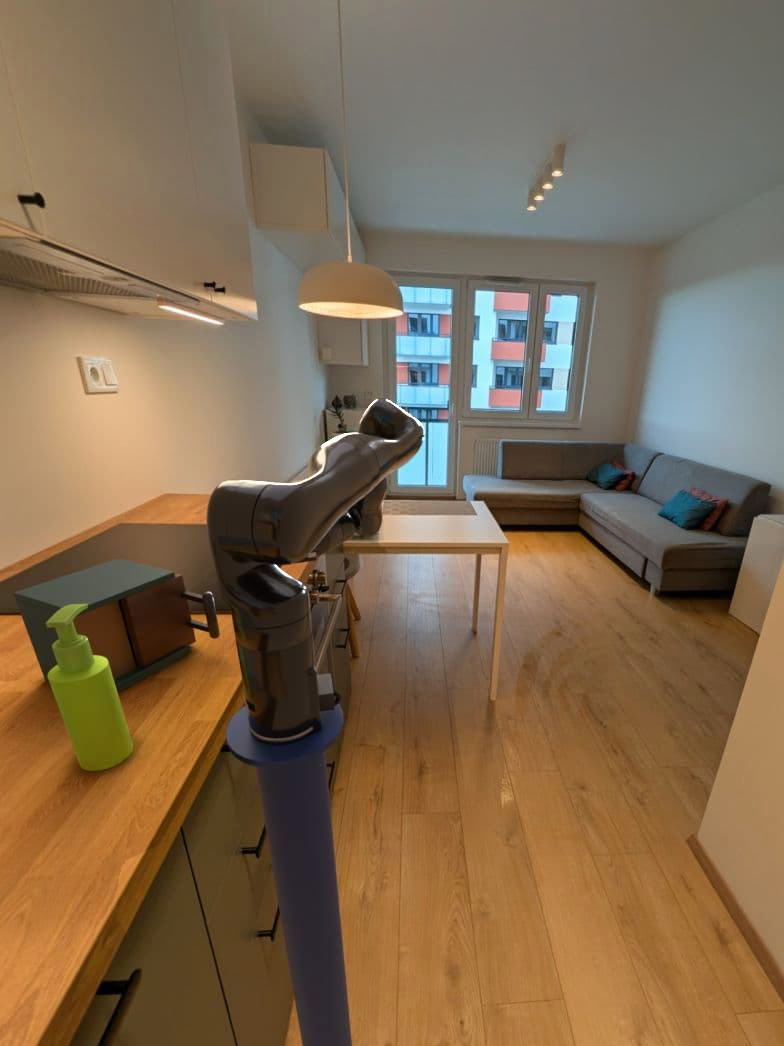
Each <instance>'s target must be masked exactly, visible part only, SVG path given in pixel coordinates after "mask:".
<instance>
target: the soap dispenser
mask: <svg viewBox="0 0 784 1046" xmlns="http://www.w3.org/2000/svg"><path fill="white" fill-rule="evenodd" d="M86 608H88V604H70V605H67V606H65V607H63V608H61V609H60V610H58V611H57V612H56V613H55V614H54V615H53V616H52V617H51V618H50V619H49V620H48V621H47V622H46V626H47V628H50V627H55V629H56V631H57V634H58V637H59V639H58V640H57V641H56V642H54V643H53V645H52V649H53V652H54V655H55V658H56V660H57V663H58V665H56V666H55V667H53V668H52V669H51V670H50V671H49V673H48V680H49V686H50V688H51V691H52V693H53V696H54V699H55V702H56V704H57V707H58V710H59V712H60V716H61V718H62V721H63V724H64V727H65V729H66V732H67V734H68V737H69V741H70V743H71V746H72V748H73V752H74V754H75V756H76V760H77V762H78V765H79V767H80V768H81V769H82V770H84V771H89V772H99V771H104V770H108V769H111V768H113V767H115V766H117V765H120V764H121V763H123V762H124V761H125V760H127V758H129V757H130V755H131V754H132V753H133V752H134V751H133V750H134V744H133V740H132V736H131V733H130V729H129V726H128V723H127V720H126V716H125V713H124V709H123V706H122V703H121V700H120V696H119V693H117V689H116V686H115V683H114V679H113V676H112V672H111V669H110V666H109V662H108V660H107V659H106V658H105V657H103V656H98V655H93V654H92V651H91V647H90V644H89V641H88V638H87V637H86V636H83V635H77V633H76V630H75V627H74V623H73V619H74V618H75V617H76V616H77V615H78V614H79V613H80V612H81V611H83V610H84V609H86Z"/></svg>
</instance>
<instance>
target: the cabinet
mask: <svg viewBox="0 0 784 1046" xmlns="http://www.w3.org/2000/svg"><path fill="white" fill-rule="evenodd" d="M175 573H176V572H175V571H171V570H169V569H168V570H167V569H164V568H160V567H155V566H153V565H146V564H143V563H139V562H135V561H131V560H127V559H124V558H115V559H113V560H109V561H106V562H102V563H100V564H97V565H93V566H90V567H88V568H84V569H82V570H78V571H76V572H73V573H68V574H66V575H64V576H60V577H57V578H53V579H51V580H47V581H44V582H42V583H39V584H35V585H32V586H29V587H26V588H23V589H20V590H17V591H14V592H13V597H14V599H15V602H16V605H17V607H18V610H19V613H20V616H21V618H22V621H23V624H24V627H25V629H26V632H27V634H28V638H29V640H30V643H31V646H32V648H33V649H32V650H33V652H34V654H35V657H36V659H37V662H38V664H39V667H40V671H41V673H42V676H43V678H44V681H46V682H49V680H48V673H49V671H50V670H51V669H52V668H53V667H55V666H56V665H58V663H57V660H56V658H55V655H54V652H53V649H52V645H53V643H54V642H56V641H57V640H58V639H59V637H58V634H57V631H56V629H55V627H50V628H47V626H46V622H47V621H48V620H49V619H50V618H51V617H52V616H53V615H54V614H55V613H56V612H57V611H58V610H60V609H61V608H63V607H65V606H67V605H70V604H88V608H86V609H84V610H83V611H81V612H80V613H79V614H78V615H77V616H76V617H75V618H74V619H73V623H74V627H75V630H76V633H77V635H83V636H86V637H87V638H88V641H89V644H90V647H91V651H92V654H93V655H98V656H103V657H105V658H106V659H107V660H108V662H109V666H110V669H111V672H112V676H113V679H114V683H115V686H116V689H117V693H118V694H119V693H121V692H123V691H125V690H126V689H128V688H130V687H132V686H134V685H136V684H137V683H139V682H141V681H142V680H145V679H147V678H148V677H150V676H151V675H153V674H155V673H157V672H159V671H160V670H162V669H163V668H165V667H167V666H169V665H172V664H173V663H175V662H176V661H179V660H180V659H181V658H183V657H186V656H187V655H189V654H191V653H192V649H191V645H189V646H186V647H184V648H182V649H180V650H179V651H177V652H175V653H173V654H171V655H169V656H167V657H166V658H164V659H162V660H160V661H158V662H156V663H155V664H153V665H151V666H149V667H147V668H145V669H142V668H139V667H138V664H137V660H136V657H135V653H134V649H133V646H132V642H131V638H130V634H129V631H128V627H127V623H126V619H125V616H124V612H123V608H122V605H121V601H120V599H122V598H125V597H127V596H130V595H133V594H135V593H138V592H140V591H143V590H145V589H148V588H150V587H153V586H155V585H158V584H160V583H163V582H165V581H168V580H170V579H173V578H175Z"/></svg>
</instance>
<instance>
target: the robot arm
mask: <svg viewBox="0 0 784 1046" xmlns="http://www.w3.org/2000/svg"><path fill="white" fill-rule="evenodd" d="M424 440H425V429H424V426H423V424H422V423H421V422H420V421H419V420H418V419H417V418H415V417H413V416H412V415H411V414H410V413H408V412H406V411H405V410H404V409H402V408H401V407H399V406H398V405H397V404H395V403H393V402H392V401H391V400H388V399H386V398H378V399H375V400H374V401H373V402H372V403H371V404H370V405H369V406H368V408H367V409H366V410H365V412H364V414H363V415H362V417H361V420H360V421H359V425H358V429H357V432H347V433H343V434H340V435H338V436H335V437H334V438H332V439H330V440H328V441H326V442H325V443H323V444H322V445H320V446H319V447H317V448H316V449H315V450H314V451H313V452H312V454H311V455H310V457H309V459H308V462H307V467H306V477H307V478H306V479H304V480H301V481H300V482H292V483H289V482H288V483H287V482H273V481H264V480H263V481H262V480H253V479H243V478H231V479H227V480H226V479H225V480H224V481H222V482H219V483H218V485H217V486H215V487H214V489H213V490H212V492H211V494H210V496H209V498H208V502H207V507H206V516H205V517H206V531H207V538H208V542H209V543H208V544H209V548H210V551H211V556H212V561H213V564H214V569H215V573H216V576H217V582H218V585H219V589H220V593H221V596H222V598H223V600H224V602H225V603H226V604H227V607H229V611H230V614H231V620H232V626H233V632H234V638H235V644H236V645H235V646H236V650H237V657H238V661H239V662H238V663H239V668H240V674H241V681H242V686H243V692H244V693H243V694H242V697H243V702H244V706H245V705H246V708H247V710H248V719H249V727H250V732H251V734H252V736H253V737H254V738H255V739H256V740H258V741H259V742H262V743H265V744H269V745H285V744H291V743H294V742H297V741H300V740H302V739H304V738H306V737H308V736H309V735H311V734H312V733H314V732H319V731H321V730H322V726H321V712H322V711H329V710H335V706H336V705H337V704H340V702H341V699H342V695H341V693H340V692H339V691H338V690H336V689H335V688H334V687H333V681H332V674H331V673H330V672H328V673H322V674H317V665H316V664H317V663H316V653H315V645H314V644H315V643H314V636H313V634H314V633H313V625H312V614H311V613H312V612H311V600H310V599H311V598H310V592H309V590H308V588H307V586H306V585H305V584H304V583H303V582H302V581H300V580H299V579H297V578H295V577H293V576H292V575H289V574H288V573H286V572H285V571H284V570H282V569H281V568H280V566H290V565H294V564H301V563H307V562H309V563H310V562H314V561H315V562H316V561H317V559H318V557H320V556H322V555H325V554H326V553H329V552H330V551H332V550H334V549H335V548H337V546H340V545H341V544H344V543H346V542H347V541H349V540H350V539H352V538H353V537H354V535H355V536H357V537H358V538H360V539H362V540H368V539H371V538H373V537H375V536H376V535H377V534H378V533H379V531H380V529H381V527H382V524H383V519H384V518H383V517H384V516H383V505H382V504H383V501H384V499H385V496H386V494H387V491H388V490H387V489H388V481H387V476H389V475H390V474H392V473H394V472H396V471H397V470H400V469H401V468H402V467H404V466H406V465H407V464H408V463H410V461H411V460H412V459H413V458H414V457H415V456H416V455H417V454H418V453H419V451H420V450H421V447H422V446H423V444H424Z"/></svg>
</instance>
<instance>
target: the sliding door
mask: <svg viewBox="0 0 784 1046" xmlns="http://www.w3.org/2000/svg"><path fill="white" fill-rule="evenodd" d="M174 573H175V578H173V579H170V580H168V581H165V582H163V583H160V584H158V585H155V586H153V587H150V588H148V589H145V590H143V591H140V592H138V593H135V594H133V595H130V596H127V597H125V598H122V599H120V601H121V605H122V608H123V612H124V616H125V619H126V623H127V627H128V631H129V634H130V638H131V642H132V646H133V649H134V653H135V657H136V660H137V664H138V667H139V668H142V669H145V668H147V667H149V666H151V665H153V664H155V663H156V662H158V661H160V660H162V659H164V658H166V657H167V656H169V655H171V654H173V653H175V652H177V651H179V650H180V649H182V648H184V647H186V646H191V645H193V644H195V643H196V642H197V639H196V635H195V630H198V631H202V632H204V633H205V632H206V633H208V635H209V637H210V638H211V639H213V640H216V639H218V638H219V637H220V636H221V635H220V634H221V633H220V627H219V626H220V625H219V621H218V616H217V610H216V606H215V599H214V595H213V593H212V592H211V591H205V592H203V593H202V594H199V593H196V592H192V591H188V590H186V586H185V581H184V576H183V574H180V573H176V572H174ZM189 601H191V602H195V603H198V604H202V605H203V609H204V614H205V619H206V622H203V621H199V620H195V619H192V615H191V611H190V605H189Z"/></svg>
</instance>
